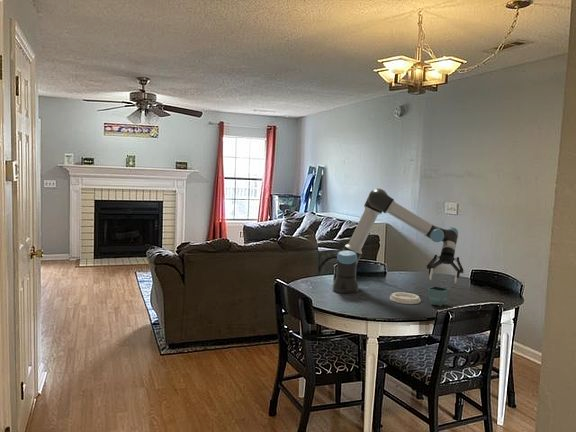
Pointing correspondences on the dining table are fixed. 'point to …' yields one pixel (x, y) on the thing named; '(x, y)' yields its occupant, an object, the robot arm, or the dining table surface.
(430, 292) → the flower pot
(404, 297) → the plant saucer
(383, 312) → the dining table surface
